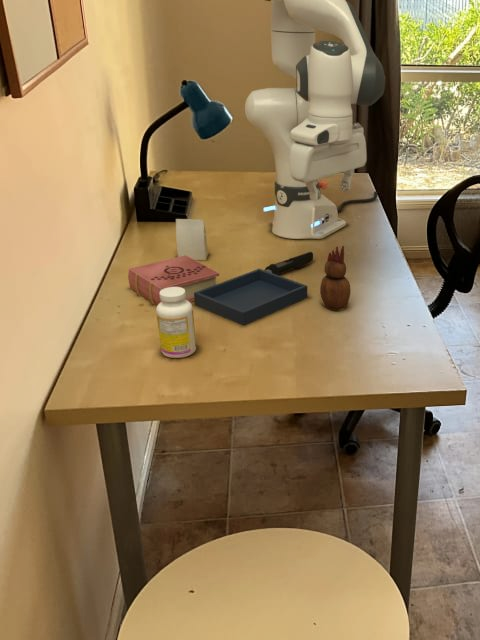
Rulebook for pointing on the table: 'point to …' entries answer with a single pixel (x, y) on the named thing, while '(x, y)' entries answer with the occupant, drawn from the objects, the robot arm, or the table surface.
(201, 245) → the white folded card
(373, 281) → the table surface
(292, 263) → the electric trimmer
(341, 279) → the wooden figurine
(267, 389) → the table surface
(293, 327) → the table surface
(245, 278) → the tray
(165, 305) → the supplement bottle
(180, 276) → the book
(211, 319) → the table surface
